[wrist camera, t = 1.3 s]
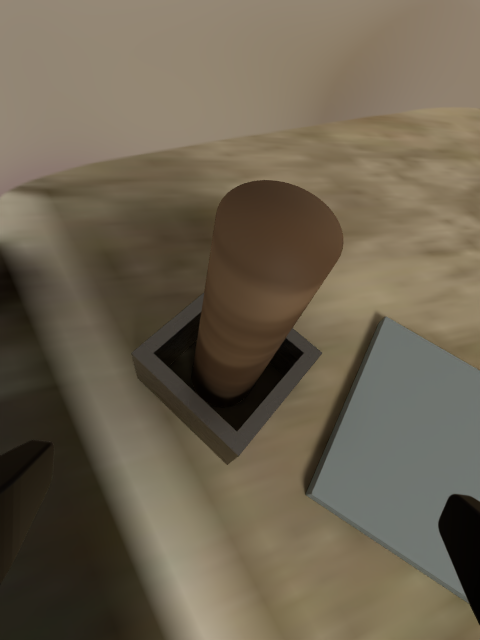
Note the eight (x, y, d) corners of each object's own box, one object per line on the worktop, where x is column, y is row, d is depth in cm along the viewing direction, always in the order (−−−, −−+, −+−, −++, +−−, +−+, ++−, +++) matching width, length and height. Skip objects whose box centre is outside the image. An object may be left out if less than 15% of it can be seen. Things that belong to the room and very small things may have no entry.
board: (497, 622, 19) (513, 628, 18) (305, 494, 20) (311, 494, 19) (523, 406, 26) (535, 403, 25) (379, 322, 27) (385, 316, 26)
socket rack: (227, 464, 20) (238, 455, 17) (137, 377, 22) (131, 353, 18) (300, 375, 24) (322, 352, 20) (219, 306, 25) (226, 273, 22)
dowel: (224, 420, 21) (294, 306, 9) (178, 377, 22) (187, 219, 10) (264, 376, 23) (365, 231, 11) (220, 337, 24) (270, 163, 12)
